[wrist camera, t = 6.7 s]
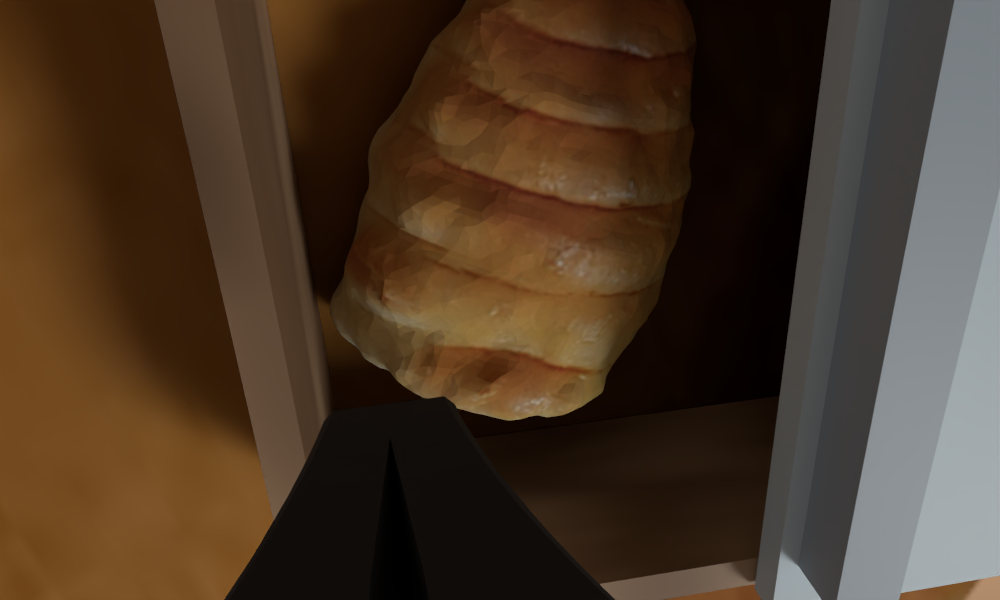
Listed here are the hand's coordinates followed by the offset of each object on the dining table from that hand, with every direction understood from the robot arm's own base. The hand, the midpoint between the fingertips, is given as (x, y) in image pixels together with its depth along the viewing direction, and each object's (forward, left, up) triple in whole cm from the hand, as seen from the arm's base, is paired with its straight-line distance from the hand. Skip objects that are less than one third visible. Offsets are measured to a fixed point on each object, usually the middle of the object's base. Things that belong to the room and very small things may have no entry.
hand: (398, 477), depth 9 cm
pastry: (+3, 0, -9) cm, 10 cm away
